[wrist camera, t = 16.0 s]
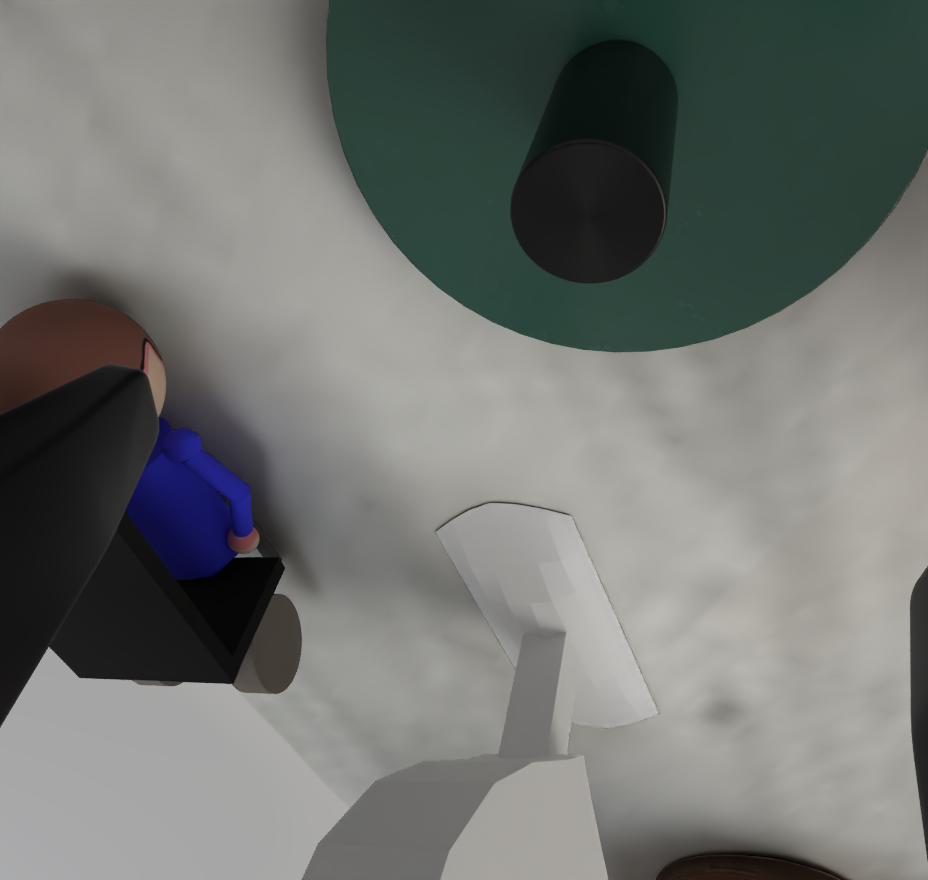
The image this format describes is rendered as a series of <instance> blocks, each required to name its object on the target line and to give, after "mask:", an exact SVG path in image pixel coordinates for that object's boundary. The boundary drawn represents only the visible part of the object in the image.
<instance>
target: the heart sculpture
mask: <svg viewBox="0 0 928 880" xmlns="http://www.w3.org/2000/svg"><path fill="white" fill-rule="evenodd" d="M436 534H437V536H438V538H439V539H440V541H441V543H442V544H443V546H444V548H445V550H446V551H447V553H448V555H449V556H450V558H451V560H452V562H453V563H454V565H455V567H456V568H457V570H458V572H459V574H460V575H461V577H462V579H463V580H464V582H465V584H466V586H467V587H468V589H469V591H470V592H471V594H472V596H473V598H474V599H475V601H476V603H477V604H478V606H479V608H480V610H481V611H482V613H483V615H484V616H485V618H486V620H487V622H488V623H489V625H490V627H491V628H492V630H493V632H494V634H495V635H496V637H497V639H498V640H499V642H500V644H501V646H502V647H503V649H504V651H505V652H506V654H507V656H508V658H509V659H510V661H511V663H512V664H513V666H514V668H515V670H516V672H515V677H514V682H513V687H512V691H511V696H510V701H509V706H508V711H507V716H506V721H505V725H504V730H503V735H502V740H501V745H500V750H499V754H484V755H480V756H477V757H473V758H469V759H459V760H440V761H423V762H421V763H418V764H416V765H414V766H411V767H409V768H406V769H404V770H401V771H399V772H396V773H394V774H391V775H389V776H386V777H384V778H382V779H379V780H377V781H375V782H374V783H373V784H372V785H371V786H370V787H369V789H368V790H367V791H366V792H365V793H364V794H363V795H362V796H361V797H360V798H359V800H358V801H357V802H356V803H355V804H354V805H353V806H352V807H351V808H350V809H349V810H348V812H347V813H346V814H345V815H344V816H343V817H342V818H341V819H340V820H339V822H338V823H337V824H336V825H335V826H334V827H333V828H332V829H331V830H330V831H329V832H328V833H327V835H326V836H325V837H324V838H323V839H322V840H321V841H320V842H319V843H318V846H317V847H316V850H315V852H314V854H313V856H312V858H311V860H310V863H309V865H308V867H307V869H306V871H305V874H304V876H303V878H302V880H608V876H607V871H606V867H605V862H604V857H603V852H602V848H601V843H600V838H599V833H598V828H597V824H596V819H595V814H594V809H593V805H592V800H591V794H590V789H589V783H588V778H587V772H586V766H585V761H584V755H567V749H568V742H569V735H570V728H571V723H573V724H578V725H583V726H589V727H597V728H613V727H619V726H625V725H628V724H632V723H635V722H639V721H642V720H645V719H647V718H650V717H652V716H655V715H657V714H659V712H658V710H657V708H656V705H655V703H654V701H653V699H652V696H651V694H650V692H649V690H648V687H647V685H646V683H645V681H644V678H643V676H642V674H641V671H640V669H639V667H638V665H637V662H636V660H635V658H634V656H633V653H632V651H631V649H630V647H629V644H628V642H627V640H626V638H625V635H624V633H623V631H622V629H621V626H620V624H619V622H618V620H617V617H616V615H615V613H614V611H613V608H612V606H611V604H610V602H609V599H608V597H607V595H606V593H605V590H604V588H603V586H602V584H601V581H600V579H599V577H598V575H597V572H596V570H595V568H594V566H593V563H592V561H591V559H590V557H589V554H588V552H587V550H586V548H585V545H584V543H583V541H582V539H581V536H580V534H579V532H578V529H577V527H576V525H575V523H574V520H573V518H572V516H569V515H565V514H561V513H557V512H553V511H549V510H545V509H540V508H535V507H529V506H523V505H518V504H503V503H488V504H485V505H482V506H479V507H476V508H474V509H471V510H468V511H467V512H465V513H463V514H461V515H460V516H458V517H456V518H454V519H453V520H451V521H450V522H448V523H447V524H446V525H444V526H443V527H442V528H440V529H439V530H438V531H436Z"/></svg>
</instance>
